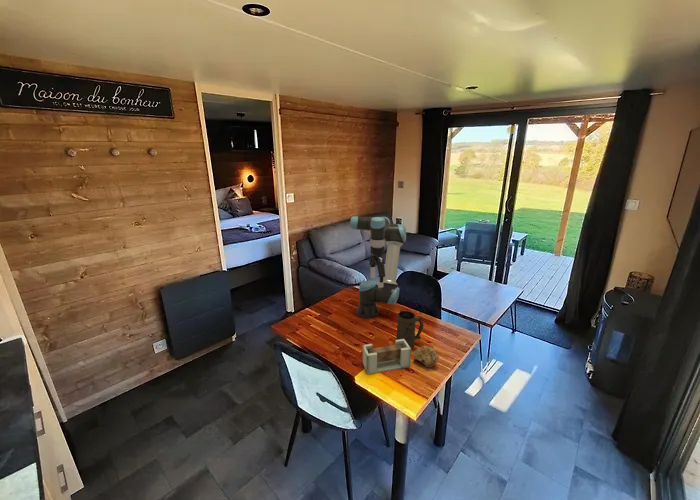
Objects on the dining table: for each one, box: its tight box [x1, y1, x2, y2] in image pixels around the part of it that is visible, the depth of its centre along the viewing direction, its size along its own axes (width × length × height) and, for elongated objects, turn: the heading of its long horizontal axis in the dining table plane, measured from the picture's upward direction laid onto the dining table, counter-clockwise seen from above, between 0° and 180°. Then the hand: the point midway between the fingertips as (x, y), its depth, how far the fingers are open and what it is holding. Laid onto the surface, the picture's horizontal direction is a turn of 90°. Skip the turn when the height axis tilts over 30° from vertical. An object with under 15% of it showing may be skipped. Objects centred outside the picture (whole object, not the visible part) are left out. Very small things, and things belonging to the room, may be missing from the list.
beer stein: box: [395, 310, 424, 350], centre depth 170 cm, size 15×11×20 cm
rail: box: [368, 344, 404, 363], centre depth 154 cm, size 18×4×6 cm, turn 103°
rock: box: [412, 345, 440, 368], centre depth 155 cm, size 12×10×10 cm
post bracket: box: [361, 339, 412, 376], centre depth 154 cm, size 9×23×11 cm, turn 103°
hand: (376, 282), depth 168 cm, fingers open, 13 cm apart
